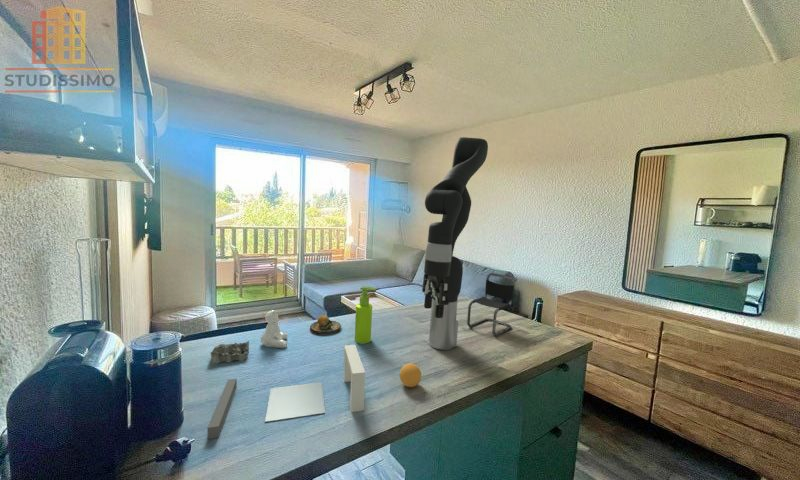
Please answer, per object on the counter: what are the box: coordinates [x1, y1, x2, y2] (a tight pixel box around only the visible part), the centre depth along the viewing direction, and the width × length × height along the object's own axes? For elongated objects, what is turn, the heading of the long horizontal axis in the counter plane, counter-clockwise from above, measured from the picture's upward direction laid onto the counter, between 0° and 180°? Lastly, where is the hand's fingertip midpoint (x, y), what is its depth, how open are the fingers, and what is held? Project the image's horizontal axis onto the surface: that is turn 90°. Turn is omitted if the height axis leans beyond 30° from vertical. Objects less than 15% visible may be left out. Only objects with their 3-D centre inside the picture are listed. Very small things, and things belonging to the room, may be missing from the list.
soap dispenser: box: [354, 286, 377, 345], centre depth 111 cm, size 6×7×20 cm
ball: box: [399, 362, 422, 388], centre depth 85 cm, size 6×6×6 cm
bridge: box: [342, 344, 366, 413], centre depth 80 cm, size 3×15×10 cm, turn 18°
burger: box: [309, 314, 342, 336], centre depth 120 cm, size 12×12×8 cm
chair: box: [466, 272, 518, 337], centre depth 130 cm, size 13×17×22 cm
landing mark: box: [264, 381, 326, 423], centre depth 76 cm, size 13×13×1 cm
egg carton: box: [210, 340, 250, 364], centre depth 95 cm, size 10×7×4 cm
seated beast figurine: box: [260, 309, 288, 349], centre depth 105 cm, size 10×9×12 cm
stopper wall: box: [207, 378, 238, 440], centre depth 71 cm, size 2×18×2 cm, turn 18°
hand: (432, 312), depth 91 cm, fingers open, 8 cm apart
